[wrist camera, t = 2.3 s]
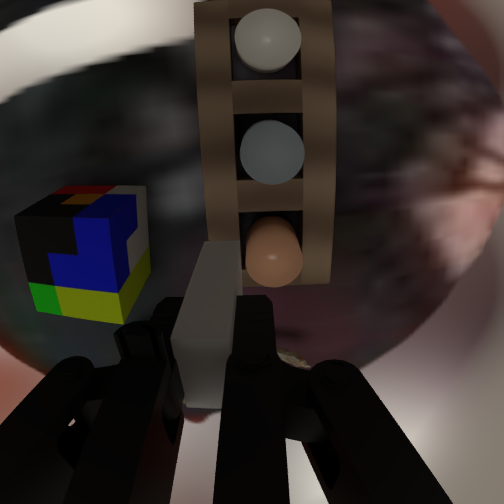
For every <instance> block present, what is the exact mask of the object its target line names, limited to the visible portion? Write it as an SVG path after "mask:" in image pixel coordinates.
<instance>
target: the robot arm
mask: <svg viewBox="0 0 504 504" xmlns="http://www.w3.org/2000/svg"><path fill="white" fill-rule="evenodd" d="M113 335H114V338H115V341H116V344H117V347H118V350H119V353H120V356H121V360H120V362H119V364H117V365H112V366H106V367H100V368H94V366H93V364H92V362H91V360H89V359H87V358H86V357H82V356H73V357H69V358H66V359H64V360H62V361H60V362H59V363H58V364H57V365H55V366H54V368H53V369H52V370H51V371H50V372H49V373H48V374H47V375H46V376H45V377H44V378H43V379H42V380H41V381H40V382H39V383H38V384H37V385H36V387H35V388H34V389H33V390H32V391H31V392H30V393H29V394H28V395H27V396H26V397H25V398H24V399H23V400H22V402H20V404H19V405H18V406H17V407H16V408H15V409H14V410H13V411H12V412H11V413H10V415H9V416H8V417H7V418H6V419H5V420H4V421H3V422H2V423H1V425H0V504H169V503H170V498H171V492H172V486H173V480H174V474H175V469H176V463H177V458H178V452H179V446H180V441H181V435H182V430H183V424H184V415H183V411H182V404H183V400H184V398H185V402H186V406H187V407H193V408H222V409H221V420H220V430H219V440H218V451H217V461H216V472H215V483H214V484H215V485H214V494H213V495H214V496H213V504H290V498H289V483H288V469H287V455H286V441H285V438H288V439H292V440H297V441H301V442H302V445H303V447H304V450H305V452H306V454H307V456H308V459H309V461H310V463H311V465H312V468H313V470H314V472H315V474H316V476H317V479H318V481H319V483H320V485H321V488H322V490H323V492H324V494H325V496H326V498H327V501H328V503H329V504H453V503H452V502H451V500H450V499H449V497H448V495H447V494H446V493H445V491H444V490H443V488H442V487H441V485H440V484H439V482H438V481H437V479H436V478H435V477H434V475H433V474H432V472H431V471H430V469H429V468H428V466H427V465H426V464H425V462H424V461H423V459H422V458H421V456H420V455H419V454H418V452H417V451H416V449H415V448H414V446H413V445H412V444H411V442H410V441H409V439H408V438H407V436H406V435H405V433H404V432H403V431H402V429H401V428H400V426H399V425H398V424H397V422H396V421H395V419H394V418H393V416H392V415H391V414H390V412H389V411H388V409H387V408H386V407H385V405H384V404H383V402H382V401H381V400H380V398H379V397H378V395H377V394H376V393H375V391H374V390H373V388H372V387H371V386H370V384H369V383H368V381H367V380H366V379H365V377H364V376H363V374H362V373H361V372H360V370H359V369H357V368H356V367H355V366H354V365H353V364H351V363H348V362H346V361H343V360H336V359H333V360H325V361H322V362H320V363H317V364H316V365H315V366H314V367H313V368H312V369H311V370H305V369H300V368H296V367H293V366H290V365H288V364H286V363H285V362H284V361H283V360H281V358H280V357H279V356H278V353H277V350H276V338H275V327H274V316H273V305H272V302H271V301H270V299H269V298H268V297H267V296H266V295H242V276H241V256H240V240H237V241H205V242H204V244H203V247H202V250H201V252H200V255H199V258H198V261H197V263H196V266H195V269H194V272H193V274H192V277H191V280H190V283H189V286H188V288H187V291H186V294H185V297H165V298H164V299H163V300H162V301H161V302H160V303H158V304H157V306H156V308H155V310H154V312H153V315H152V317H151V319H150V322H149V321H134V322H131V323H128V324H125V325H123V326H122V327H120V328H119V329H118V330H117V331H116V332H115V333H114V334H113ZM73 418H74V420H75V423H74V424H73V425H71V426H68V425H69V423H70V422H71V421H72V420H73Z"/></svg>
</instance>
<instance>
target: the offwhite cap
mask: <svg viewBox="0 0 504 504" xmlns="http://www.w3.org/2000/svg"><path fill="white" fill-rule="evenodd" d="M235 44H236V48H237V52H238V55H239V58H240V60H241V62H242V63H243V64H244V65H245V66H246V67H247V68H249V69H250V70H252V71H254V72H257V73H262V74H269V73H274V72H277V71H279V70H281V69H283V68H284V67H285V66H286V65H287V64H288V63H289V62H290V61H291V59H292V58H293V57H294V56H295V55H296V53H297V52H298V50H299V48H300V45H301V32H300V29H299V27H298V25H297V23H296V22H295V21H294V20H293V19H292V18H291V17H290V16H289V15H287V14H286V13H284V12H282V11H279V10H276V9H259V10H255V11H253V12H250V13H249V14H247V15H246V16H244V17H243V18H242V19H241V20H240V22H239V23H238V25H237V27H236V30H235Z"/></svg>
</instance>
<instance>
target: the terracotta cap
mask: <svg viewBox="0 0 504 504" xmlns="http://www.w3.org/2000/svg"><path fill="white" fill-rule="evenodd" d="M302 266H303V255H302V252H301V249H300V246H299V243H298V240H297V237H296V234H295V231H294V228H293V227H292V225H291V224H290V223H289V222H288V221H287V220H285V219H284V218H282V217H279V216H265V217H262V218H259V219H258V220H256V221H255V222H254V223H253V224H252V225H251V226H250V228H249V230H248V232H247V237H246V269H247V271H248V274H249V275H250V277H251V278H252V279H253V280H254V281H256V282H257V283H259V284H261V285H263V286H266V287H280V286H284V285H287V284H289V283H290V282H292V281H293V280H294V279H295V278H296V277H297V276H298V275H299V273H300V272H301V269H302Z"/></svg>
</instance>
